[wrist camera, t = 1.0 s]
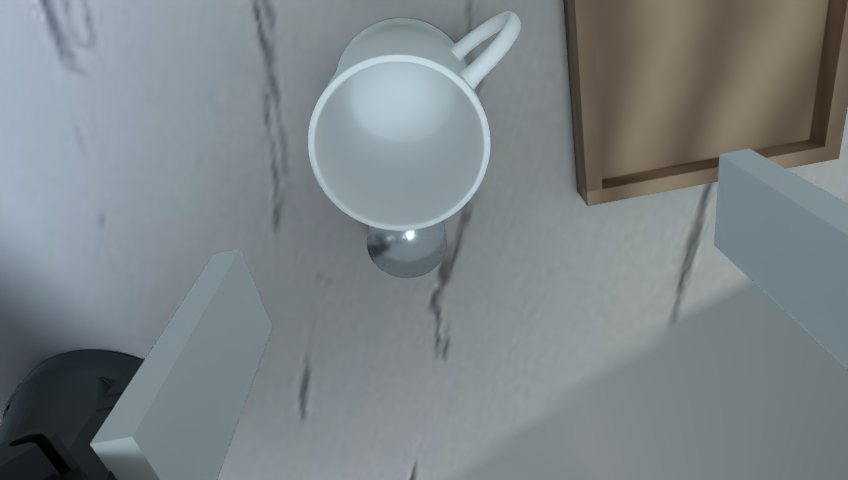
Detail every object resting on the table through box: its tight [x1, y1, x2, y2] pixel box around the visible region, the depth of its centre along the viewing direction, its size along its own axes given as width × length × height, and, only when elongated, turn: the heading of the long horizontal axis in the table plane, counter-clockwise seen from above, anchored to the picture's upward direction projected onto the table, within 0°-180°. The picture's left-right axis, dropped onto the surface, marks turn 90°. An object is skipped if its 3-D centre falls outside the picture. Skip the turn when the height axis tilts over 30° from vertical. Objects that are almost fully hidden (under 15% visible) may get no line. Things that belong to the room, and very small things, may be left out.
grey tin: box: [367, 220, 447, 278], centre depth 36 cm, size 5×5×5 cm
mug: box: [308, 11, 521, 231], centre depth 28 cm, size 12×8×12 cm
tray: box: [564, 0, 848, 206], centre depth 32 cm, size 16×16×2 cm
